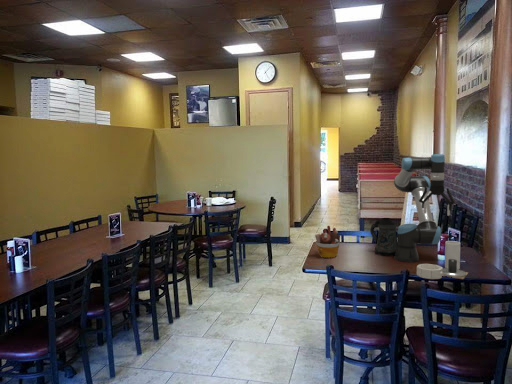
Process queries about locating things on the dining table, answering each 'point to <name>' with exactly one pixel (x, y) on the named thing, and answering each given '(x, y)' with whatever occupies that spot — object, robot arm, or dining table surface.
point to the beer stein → (385, 237)
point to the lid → (453, 269)
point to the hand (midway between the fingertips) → (436, 214)
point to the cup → (452, 252)
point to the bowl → (429, 271)
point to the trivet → (459, 277)
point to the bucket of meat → (328, 243)
